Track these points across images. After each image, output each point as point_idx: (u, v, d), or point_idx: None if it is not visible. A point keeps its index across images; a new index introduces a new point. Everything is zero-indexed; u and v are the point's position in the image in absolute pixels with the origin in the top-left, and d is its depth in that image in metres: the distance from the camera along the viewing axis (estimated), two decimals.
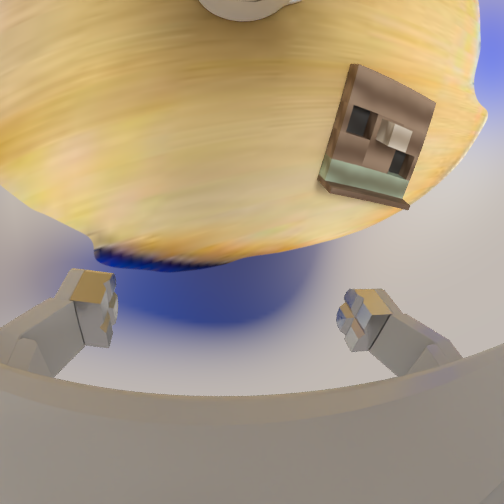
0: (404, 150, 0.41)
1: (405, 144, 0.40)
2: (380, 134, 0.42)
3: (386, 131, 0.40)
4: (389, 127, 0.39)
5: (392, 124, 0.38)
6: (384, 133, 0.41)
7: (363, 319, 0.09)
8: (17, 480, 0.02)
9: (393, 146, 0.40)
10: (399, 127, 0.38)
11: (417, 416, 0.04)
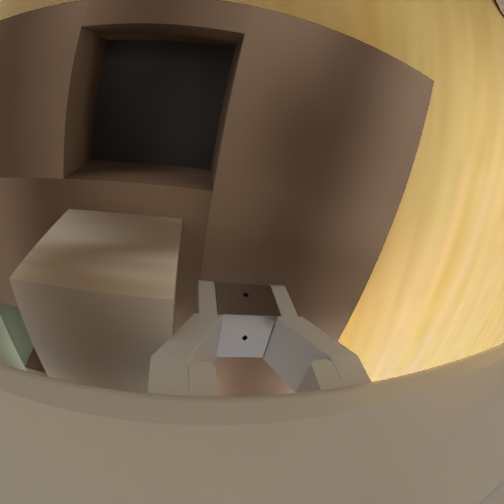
0: (55, 377, 0.06)
1: (86, 381, 0.07)
2: (90, 223, 0.08)
3: (108, 252, 0.06)
4: (135, 261, 0.06)
5: (162, 279, 0.06)
6: (93, 239, 0.07)
7: None
8: (17, 480, 0.02)
9: (29, 316, 0.05)
10: (159, 334, 0.06)
11: (417, 416, 0.04)
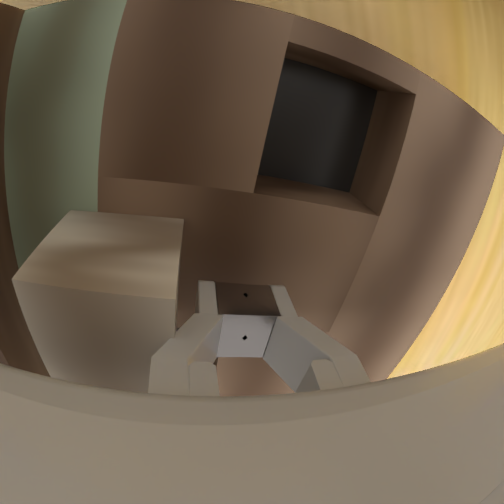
0: (58, 378, 0.06)
1: (89, 382, 0.07)
2: (92, 224, 0.08)
3: (110, 252, 0.07)
4: (137, 262, 0.06)
5: (164, 279, 0.06)
6: (95, 240, 0.07)
7: None
8: (17, 480, 0.02)
9: (32, 317, 0.05)
10: (161, 333, 0.06)
11: (417, 416, 0.04)
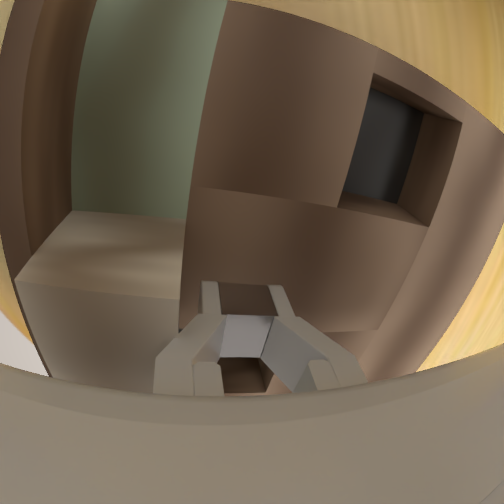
0: (60, 378, 0.07)
1: (91, 382, 0.07)
2: (94, 224, 0.08)
3: (113, 253, 0.07)
4: (139, 262, 0.06)
5: (167, 279, 0.06)
6: (97, 241, 0.07)
7: None
8: (17, 480, 0.02)
9: (34, 318, 0.05)
10: (165, 334, 0.06)
11: (417, 416, 0.04)
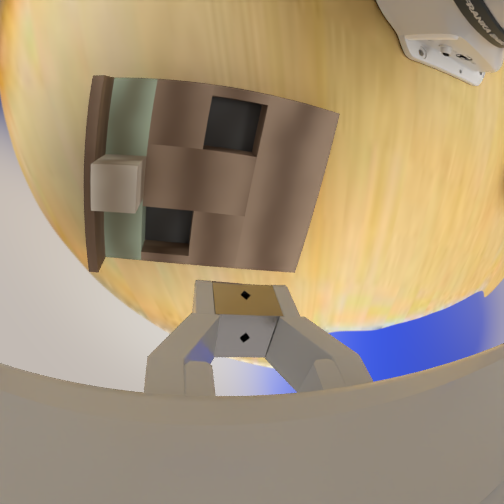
0: (94, 206, 0.21)
1: (106, 206, 0.21)
2: (114, 156, 0.22)
3: (121, 160, 0.21)
4: (128, 161, 0.21)
5: (135, 163, 0.21)
6: (116, 158, 0.21)
7: None
8: (17, 480, 0.02)
9: (93, 177, 0.20)
10: (133, 178, 0.21)
11: (417, 416, 0.04)
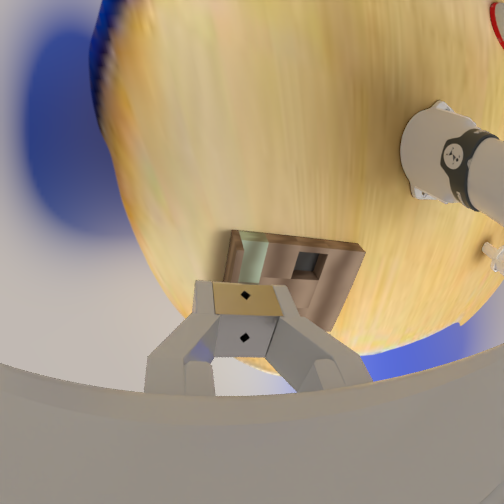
0: None
1: None
2: None
3: None
4: None
5: None
6: None
7: None
8: (17, 480, 0.02)
9: None
10: None
11: (417, 416, 0.04)
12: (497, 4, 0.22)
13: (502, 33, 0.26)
